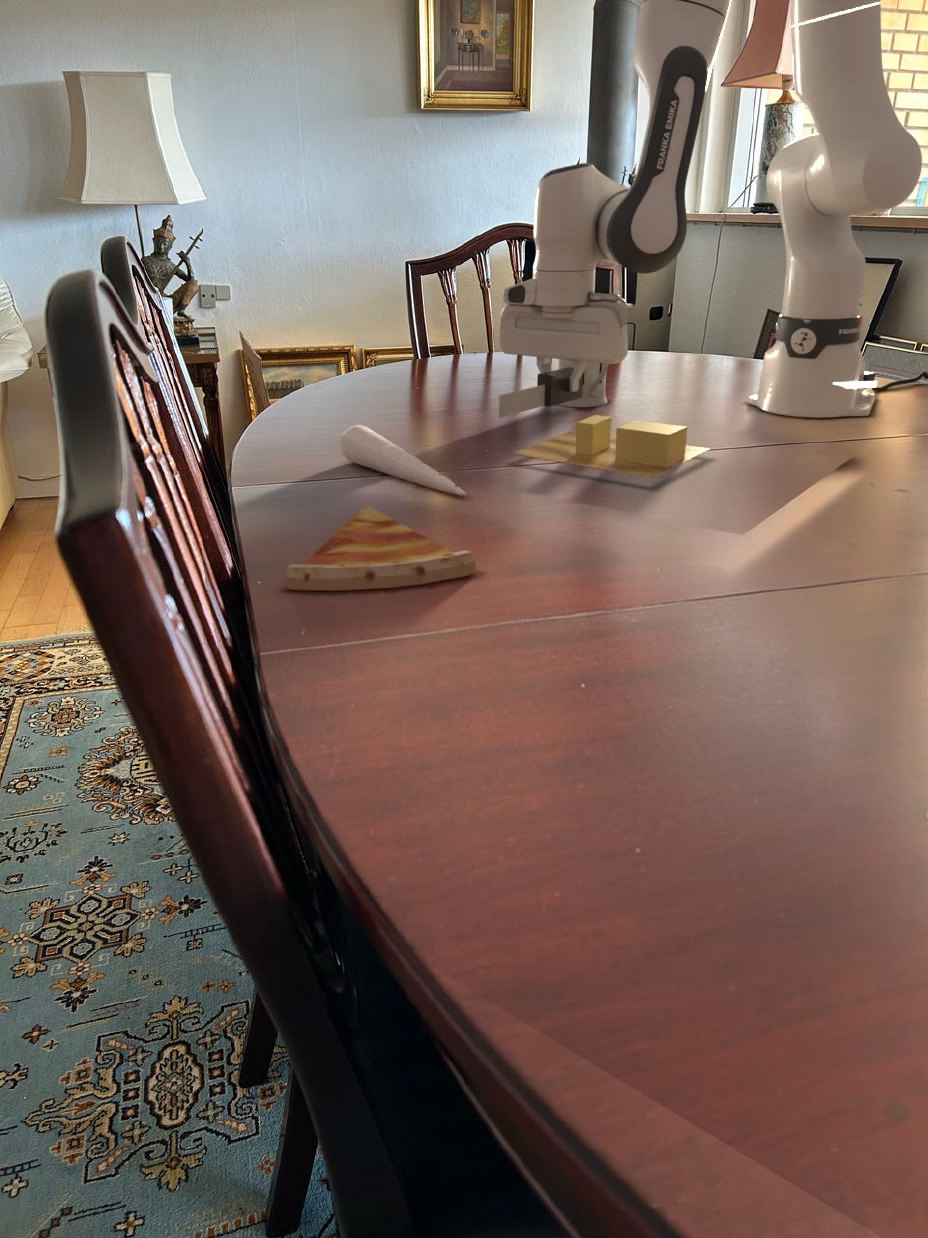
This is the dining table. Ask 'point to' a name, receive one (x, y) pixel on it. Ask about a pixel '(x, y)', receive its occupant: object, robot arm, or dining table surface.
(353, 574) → the pizza slice
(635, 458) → the butter
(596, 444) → the block
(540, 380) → the knife
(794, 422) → the dining table surface
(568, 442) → the board
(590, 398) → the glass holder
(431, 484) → the unicorn horn
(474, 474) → the dining table surface
